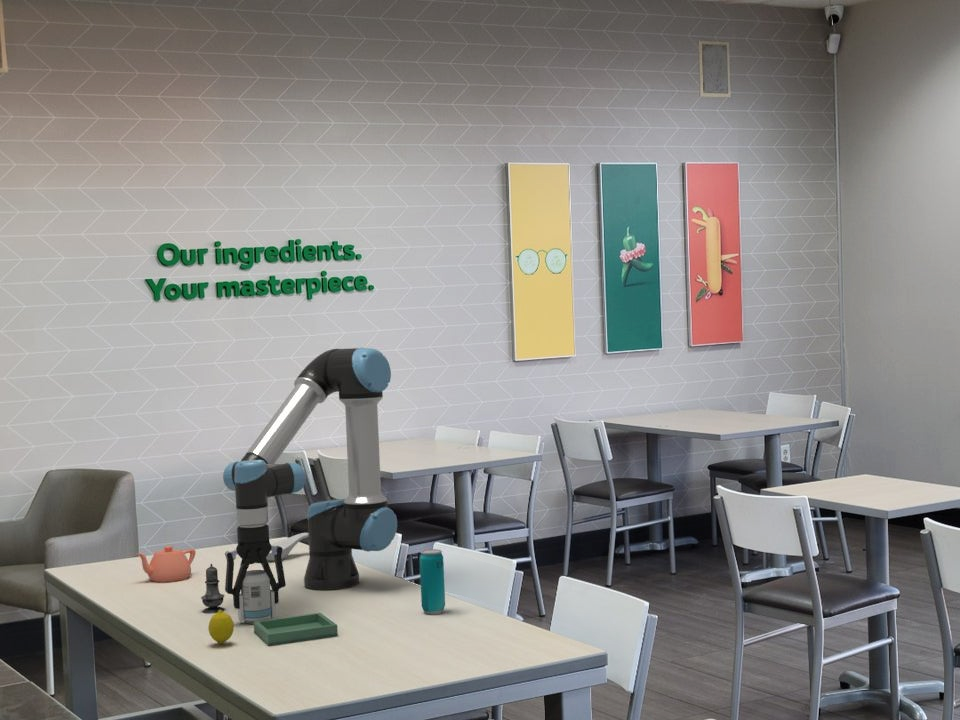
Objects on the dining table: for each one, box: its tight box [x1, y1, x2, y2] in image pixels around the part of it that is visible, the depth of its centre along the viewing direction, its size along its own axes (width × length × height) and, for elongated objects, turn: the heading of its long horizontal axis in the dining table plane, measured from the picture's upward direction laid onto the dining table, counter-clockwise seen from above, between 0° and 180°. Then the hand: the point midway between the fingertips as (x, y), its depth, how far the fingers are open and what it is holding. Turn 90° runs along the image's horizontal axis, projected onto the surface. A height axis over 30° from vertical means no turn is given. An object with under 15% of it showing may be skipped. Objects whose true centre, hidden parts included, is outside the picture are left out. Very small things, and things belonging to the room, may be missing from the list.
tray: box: [253, 612, 339, 647], centre depth 273 cm, size 16×14×2 cm
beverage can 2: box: [419, 548, 446, 615], centre depth 288 cm, size 6×6×15 cm
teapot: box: [135, 545, 196, 583], centre depth 342 cm, size 12×18×10 cm
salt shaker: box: [200, 563, 225, 614], centre depth 300 cm, size 6×6×12 cm
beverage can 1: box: [240, 569, 272, 625], centre depth 286 cm, size 7×7×12 cm
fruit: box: [208, 609, 235, 646], centre depth 266 cm, size 6×6×8 cm
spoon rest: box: [266, 532, 308, 563], centre depth 369 cm, size 24×12×7 cm, turn 119°
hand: (256, 619), depth 286 cm, fingers closed on beverage can 1, 7 cm apart
